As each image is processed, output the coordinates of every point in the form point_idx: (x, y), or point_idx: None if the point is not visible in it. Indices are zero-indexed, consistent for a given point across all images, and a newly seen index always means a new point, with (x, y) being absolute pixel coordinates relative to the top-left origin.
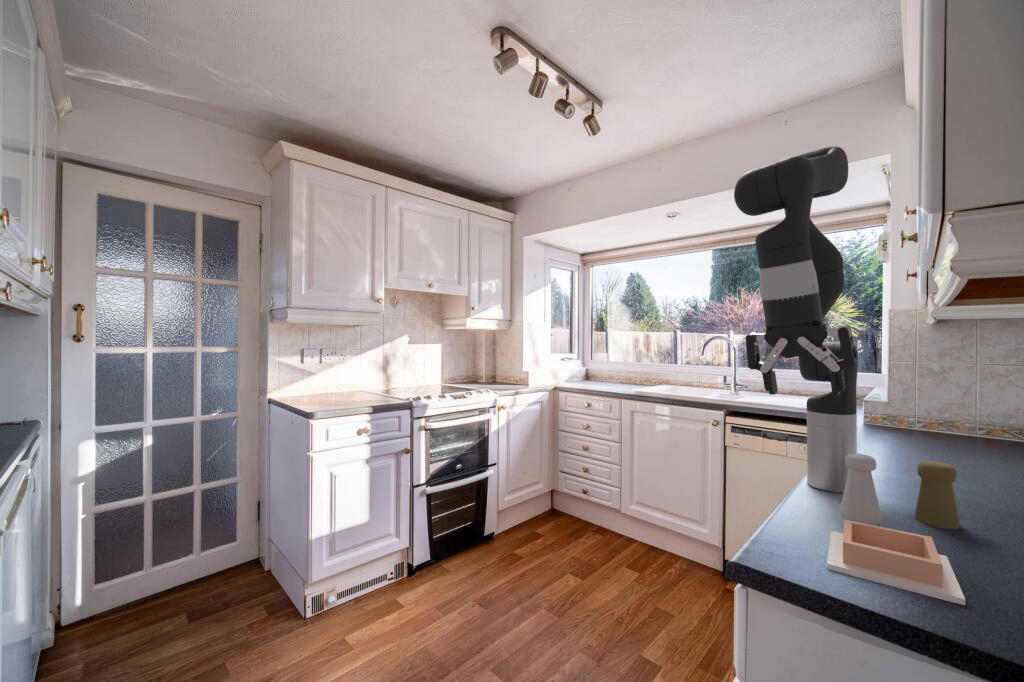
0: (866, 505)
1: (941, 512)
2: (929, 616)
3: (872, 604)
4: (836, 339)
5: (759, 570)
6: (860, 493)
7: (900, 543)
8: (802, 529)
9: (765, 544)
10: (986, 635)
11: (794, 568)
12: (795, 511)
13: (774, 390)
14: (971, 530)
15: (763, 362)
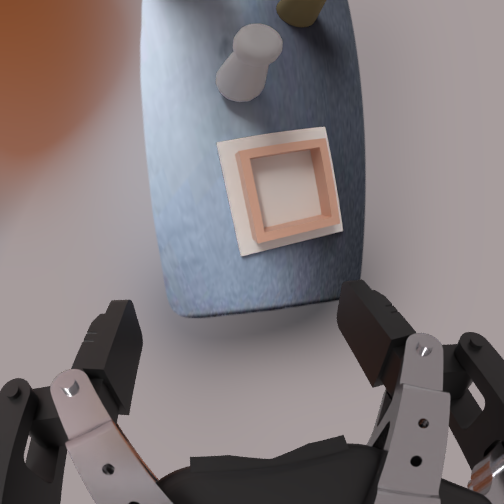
0: (255, 89)
1: (309, 17)
2: (320, 275)
3: (286, 294)
4: (469, 485)
5: (194, 315)
6: (251, 82)
7: (294, 151)
8: (183, 151)
9: (168, 245)
10: (349, 271)
11: (216, 281)
12: (155, 88)
13: (137, 341)
14: (324, 19)
15: (59, 422)
